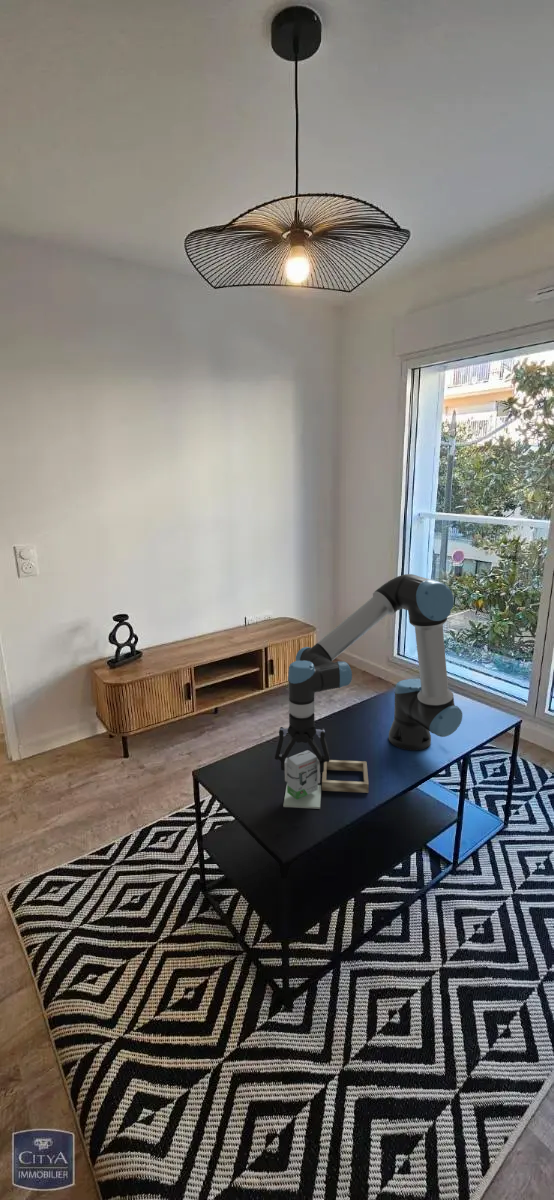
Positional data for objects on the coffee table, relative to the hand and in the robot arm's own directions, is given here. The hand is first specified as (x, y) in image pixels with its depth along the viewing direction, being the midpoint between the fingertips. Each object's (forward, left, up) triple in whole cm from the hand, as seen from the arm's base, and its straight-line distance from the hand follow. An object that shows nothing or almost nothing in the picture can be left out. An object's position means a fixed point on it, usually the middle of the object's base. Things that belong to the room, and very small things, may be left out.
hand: (302, 779), depth 157 cm
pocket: (-13, -10, -6) cm, 17 cm away
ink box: (0, 0, -4) cm, 4 cm away
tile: (0, 0, -6) cm, 6 cm away
